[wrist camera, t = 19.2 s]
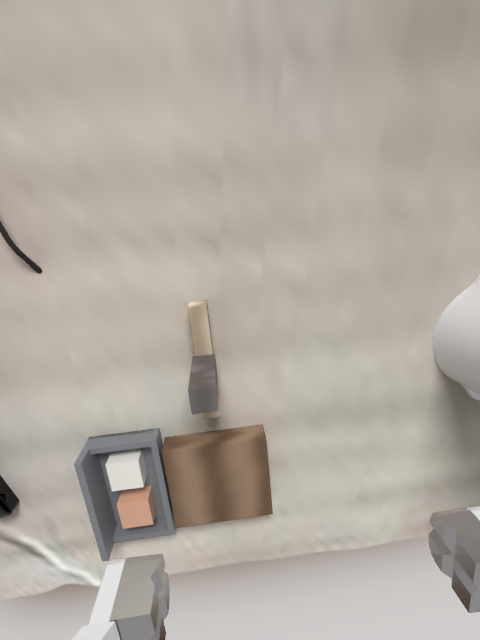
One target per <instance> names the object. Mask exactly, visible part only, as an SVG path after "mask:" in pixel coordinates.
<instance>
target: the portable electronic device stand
mask: <svg viewBox="0 0 480 640" xmlns="http://www.w3.org/2000/svg"><path fill="white" fill-rule="evenodd" d="M18 503H19V499H18V498H17V497H16V495H15V494H14V493H13V491H12V490H11V489H10V487H9V486H8V485H7V484H6V482H5V481H4V480H3V478H2V477H1V476H0V518H3V517H5V516H8V515H10V514H11V513H12V511H13V510H14V508H15V507H16V505H17V504H18Z"/></svg>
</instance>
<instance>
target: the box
mask: <svg viewBox="0 0 480 640" xmlns="http://www.w3.org/2000/svg"><path fill="white" fill-rule="evenodd" d="M137 448H142V449H143V454H144V459H145V463H146V468H147V477H146V481H145V485H144V487H146V486H151V487H152V491H153V496H154V500H155V505H156V514H155V519H154V524H153V525H146V526H140V527H133V528H126V529H123V527H122V524H121V520H120V516H119V512H118V508H117V502H118V499H119V496H120V493H121V490H119V491H112V490H111V486H110V482H109V478H108V474H107V470H106V466H105V465H106V463H107V460H108V458H109V456H110V454H111V452H114V451H122V450H130V449H137ZM162 449H163V444H162V439H161V434H160V429H159V428H157V429H149V430H142V431H134V432H126V433H119V434H111V435H103V436H96V437H89V439H88V441H87V442H86V444H85V446H84V448H83V449H82V451H81V453H80V455H79V457H78V458H77V460H76V462H75V464H74V465H75V469H76V472H77V476H78V479H79V483H80V486H81V490H82V493H83V496H84V500H85V503H86V507H87V510H88V514H89V517H90V521H91V524H92V528H93V531H94V534H95V538H96V541H97V545H98V548H99V552H100V555H101V559H102V561H109V558H110V554H111V551H112V548H113V545H114V543H115V542H121V541H128V540H135V539H142V538H149V537H156V536H163V535H170V534H175V529H176V522H175V517H174V512H173V507H172V502H171V497H170V492H169V487H168V482H167V477H166V471H165V466H164V461H163V456H162Z"/></svg>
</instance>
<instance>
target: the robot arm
mask: <svg viewBox="0 0 480 640" xmlns="http://www.w3.org/2000/svg"><path fill="white" fill-rule="evenodd" d="M433 353H434V357H435V360H436V363H437V365H438V366H439V368H440V369H441V371H442V372H443V373H444V374H445V375H446V376H448V377H449V378H450V379H452V380H454V381H456V382H457V383H459V384H461V385H462V386H463V387H464V389H465V390H466V392H467V393H468V394H469V396H470V397H472V398H473V399H475V400H480V275H479V276H478V277H477V279H476V280H475V282H474V283H473V284H472V285H471V286H470V287H469V288H467V289H466V290H465V291H463V292H462V293H461V294H460V295H458V296H457V297H456V298H455V299H454V300H453V301H452V302H451V303H450V304H449V305H448V307H447V308H446V309H445V310H444V312H443V313H442V315H441V317H440V319H439V321H438V323H437V325H436V328H435V331H434V336H433ZM430 524H431V525H432V526H433V528H434V529H433V530H432V531H431V533H430V534H429V546H430V550H431V554H432V556H433V558H434V560H435V562H436V564H437V565H438V567H439V568H440V570H441V571H442V572H443V573H445V574H446V575H448V576H449V577H451V578H452V588H453V590H454V591H455V593H456V594H457V596H458V597H459V599H460V600H461V602H462V603H463V605H464V606H465V608H466V609H467V611H468V612H469V613H472V612H480V506H477V507H470V508H465V509H464V508H461V509H455V510H449V511H442V512H436V513H433V514H432V515H431V518H430ZM164 566H165V561H164V557H163V554H156V555H148V556H139V557H131V558H123V559H116V560H110V561H109V563H108V564H107V566H106V568H105V572H104V575H103V578H102V581H101V584H100V588H99V591H98V594H97V597H96V601H95V604H94V607H93V610H92V613H91V617H90V620H89V623H88V625H86V626H82V627H81V628H80V630H79V631H78V632H77V633H76V634H75V636H74V637H73V638H72V639H71V640H165V636H166V631H165V626H164V622H163V621H164V619H165V618H166V616H167V615H168V610H169V579H168V574H167V573H166V572H164Z"/></svg>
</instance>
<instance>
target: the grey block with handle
mask: <svg viewBox="0 0 480 640" xmlns="http://www.w3.org/2000/svg"><path fill="white" fill-rule="evenodd" d="M188 312H189V319H190V326H191V332H192V339H193V346H194V353H195V356H194V357H193V359H192V366H191V374H190V381H189V388H188V393H189V399H190V405H191V412H192V414H199V413H203V415H204V419H208V418H216V417H221V416H220V401H219V393H218V383H217V369H216V361H215V354H213V346H212V338H211V331H210V323H209V315H208V307H207V300H201V301H192V302H189V306H188Z"/></svg>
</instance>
